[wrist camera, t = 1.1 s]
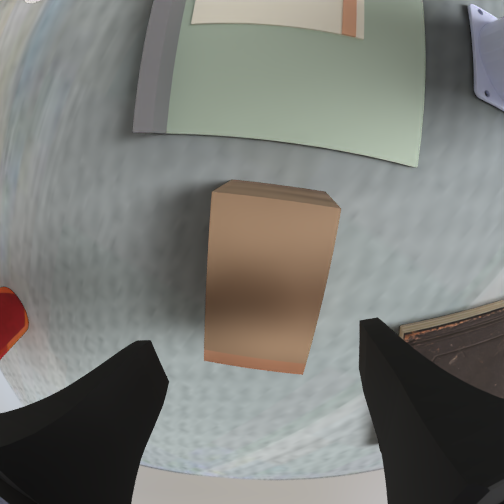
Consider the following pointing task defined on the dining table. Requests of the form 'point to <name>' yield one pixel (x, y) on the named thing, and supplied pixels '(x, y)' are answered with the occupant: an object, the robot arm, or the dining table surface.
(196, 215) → the dining table surface
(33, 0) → the wineglass
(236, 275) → the walnut block
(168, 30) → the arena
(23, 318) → the paper cup
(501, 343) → the hardcover book
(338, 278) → the dining table surface
